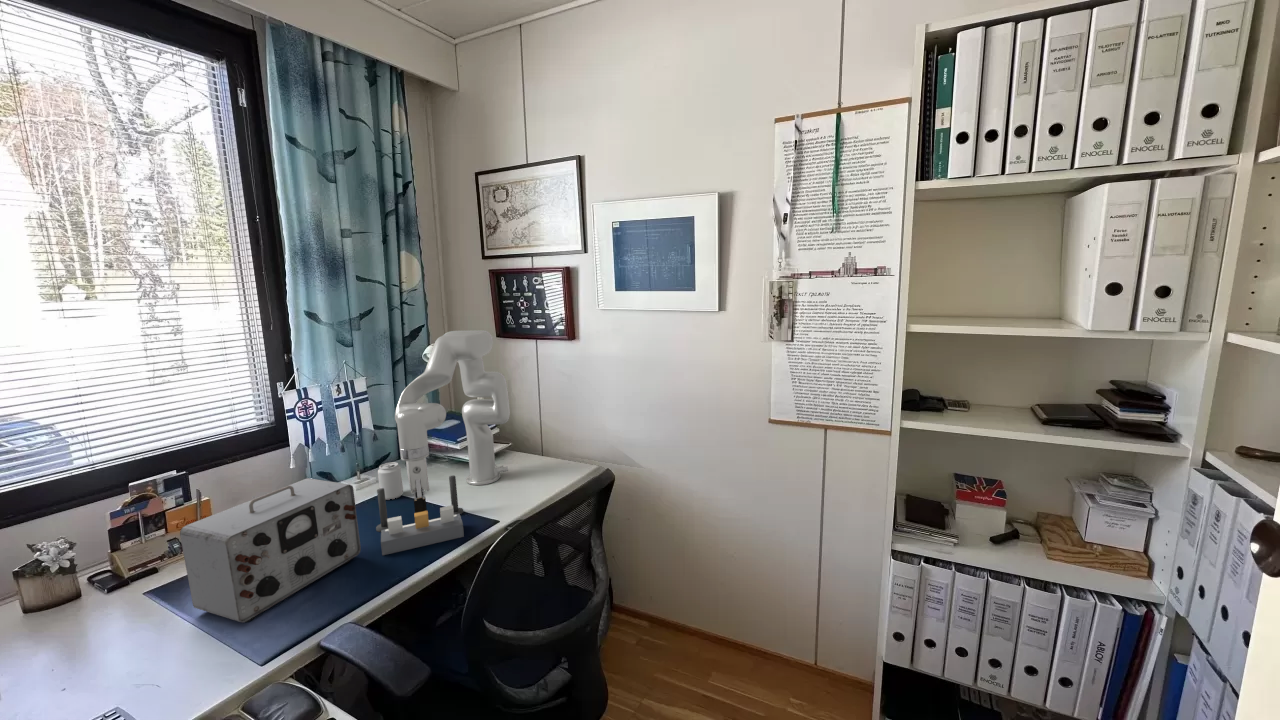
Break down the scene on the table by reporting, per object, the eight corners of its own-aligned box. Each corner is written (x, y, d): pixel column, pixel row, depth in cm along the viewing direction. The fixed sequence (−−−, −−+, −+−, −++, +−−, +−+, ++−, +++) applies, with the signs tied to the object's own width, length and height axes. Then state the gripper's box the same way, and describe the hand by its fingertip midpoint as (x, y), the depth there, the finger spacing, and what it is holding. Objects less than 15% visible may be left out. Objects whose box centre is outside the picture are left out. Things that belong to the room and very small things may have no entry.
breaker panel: (460, 525, 160) (459, 513, 159) (463, 536, 153) (462, 523, 152) (382, 542, 150) (381, 529, 150) (382, 555, 143) (380, 541, 143)
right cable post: (462, 508, 172) (459, 472, 170) (464, 514, 167) (461, 477, 165) (446, 511, 170) (443, 475, 168) (448, 518, 165) (444, 480, 163)
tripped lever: (428, 522, 152) (427, 510, 148) (428, 526, 151) (427, 513, 147) (415, 525, 150) (414, 513, 147) (415, 529, 149) (414, 516, 146)
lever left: (402, 528, 149) (401, 515, 145) (403, 531, 148) (401, 519, 144) (389, 531, 147) (387, 518, 144) (389, 534, 146) (387, 522, 143)
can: (397, 500, 180) (393, 468, 178) (376, 501, 180) (372, 468, 178) (407, 491, 187) (404, 460, 185) (387, 492, 187) (383, 461, 185)
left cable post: (393, 523, 163) (389, 485, 161) (393, 529, 158) (389, 490, 156) (376, 526, 161) (371, 488, 159) (375, 533, 156) (371, 494, 154)
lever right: (453, 517, 155) (452, 505, 151) (453, 520, 154) (453, 508, 150) (440, 520, 153) (439, 507, 150) (441, 523, 152) (440, 511, 149)
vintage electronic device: (246, 632, 113) (229, 527, 109) (194, 616, 119) (176, 516, 115) (367, 558, 142) (356, 473, 138) (320, 548, 148) (309, 466, 144)
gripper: (430, 457, 142) (436, 518, 145) (426, 442, 156) (432, 499, 159) (401, 462, 139) (407, 524, 142) (399, 446, 152) (406, 504, 155)
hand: (420, 511), depth 150 cm, fingers closed
